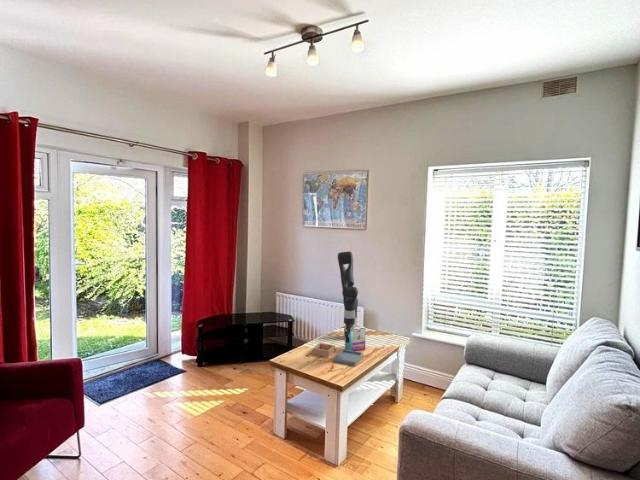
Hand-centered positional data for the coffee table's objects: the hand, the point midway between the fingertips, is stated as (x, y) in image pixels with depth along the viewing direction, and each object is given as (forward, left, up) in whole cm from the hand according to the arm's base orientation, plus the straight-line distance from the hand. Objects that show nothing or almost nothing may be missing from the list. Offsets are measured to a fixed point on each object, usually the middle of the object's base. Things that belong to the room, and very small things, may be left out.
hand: (348, 341), depth 231 cm
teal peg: (0, 0, -5) cm, 5 cm away
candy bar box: (-19, 0, -12) cm, 23 cm away
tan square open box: (-2, -19, -12) cm, 23 cm away
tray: (0, 0, -12) cm, 12 cm away
